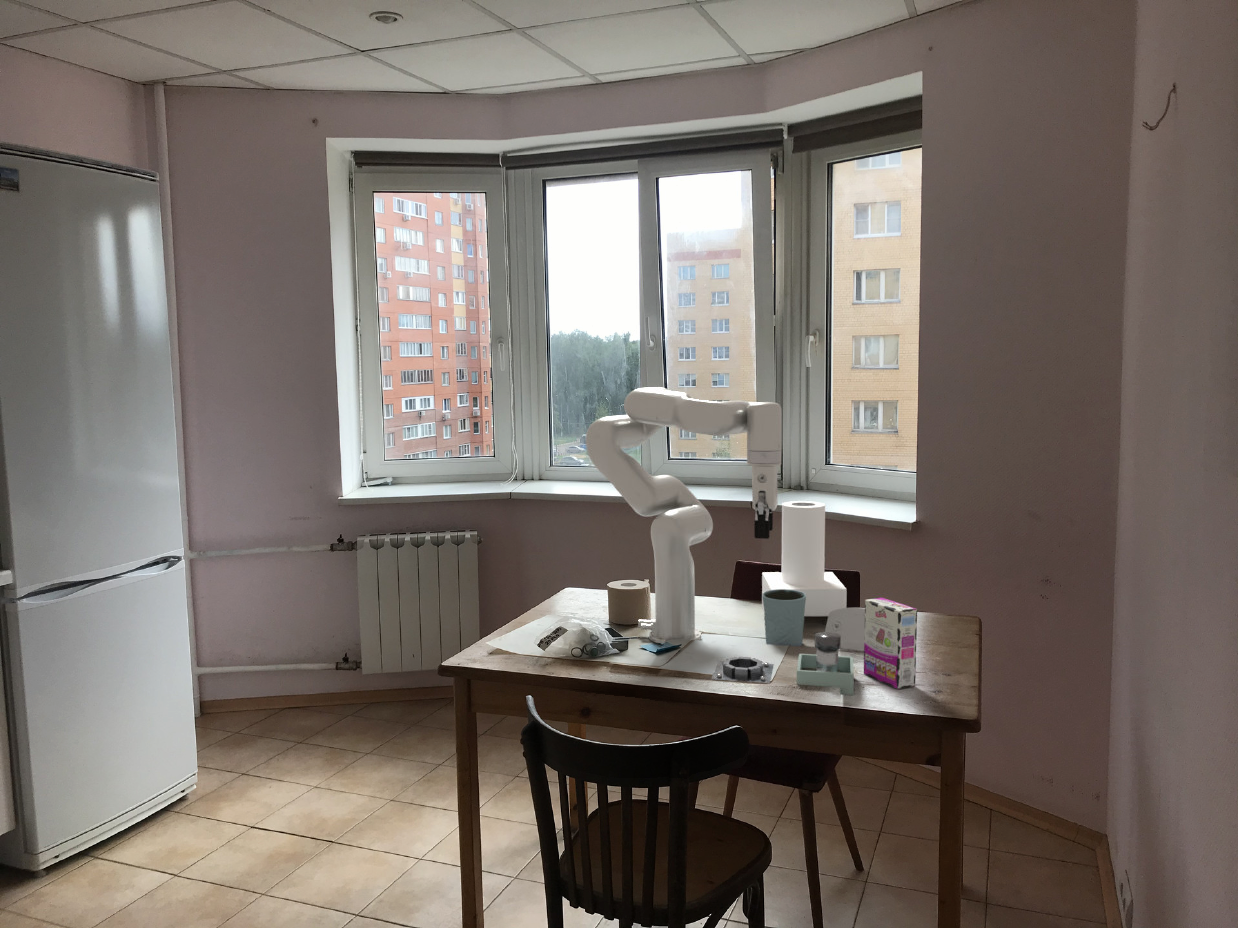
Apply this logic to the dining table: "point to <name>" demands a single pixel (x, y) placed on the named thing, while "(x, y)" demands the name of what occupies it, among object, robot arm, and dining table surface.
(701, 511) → the robot arm
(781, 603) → the teal cup
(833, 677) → the parts bin
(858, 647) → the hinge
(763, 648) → the dining table surface
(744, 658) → the stud mount
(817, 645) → the clear and grey cylinder
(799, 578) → the paper towel holder
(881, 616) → the candy bar box
